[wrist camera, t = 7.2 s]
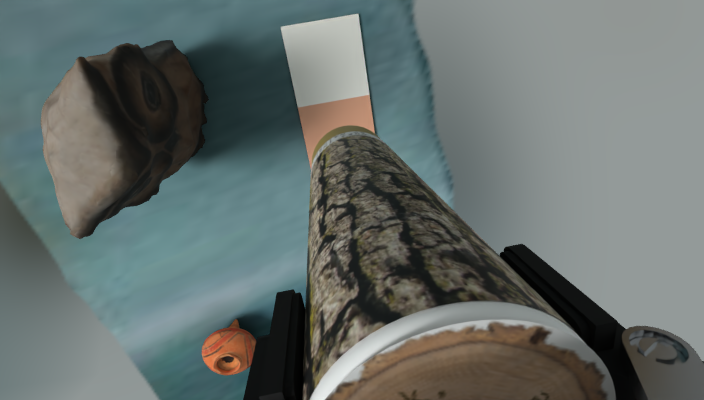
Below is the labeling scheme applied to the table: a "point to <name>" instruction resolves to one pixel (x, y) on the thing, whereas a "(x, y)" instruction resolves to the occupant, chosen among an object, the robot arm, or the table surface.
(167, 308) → the table surface
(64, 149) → the brown owl figurine
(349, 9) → the table surface
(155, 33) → the table surface
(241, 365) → the pot
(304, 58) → the board
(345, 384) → the birch log
